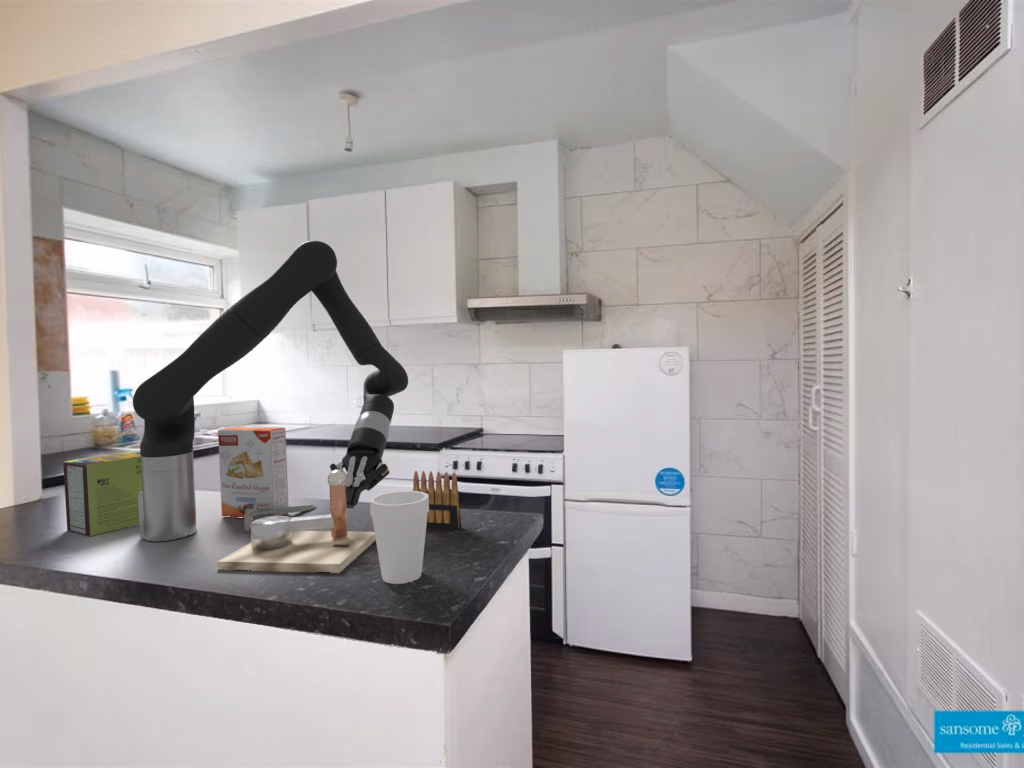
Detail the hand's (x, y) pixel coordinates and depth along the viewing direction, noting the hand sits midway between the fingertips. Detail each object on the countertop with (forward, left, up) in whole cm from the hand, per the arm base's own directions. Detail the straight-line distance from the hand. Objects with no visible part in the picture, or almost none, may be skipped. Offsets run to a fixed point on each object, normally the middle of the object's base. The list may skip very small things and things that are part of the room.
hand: (348, 506), depth 105 cm
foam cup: (+16, -17, -7) cm, 24 cm away
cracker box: (-30, +15, -7) cm, 34 cm away
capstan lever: (-7, -6, -5) cm, 10 cm away
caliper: (-22, +14, -7) cm, 27 cm away
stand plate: (-6, -8, -7) cm, 12 cm away
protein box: (-59, +8, -7) cm, 60 cm away
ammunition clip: (+15, +9, -7) cm, 19 cm away
